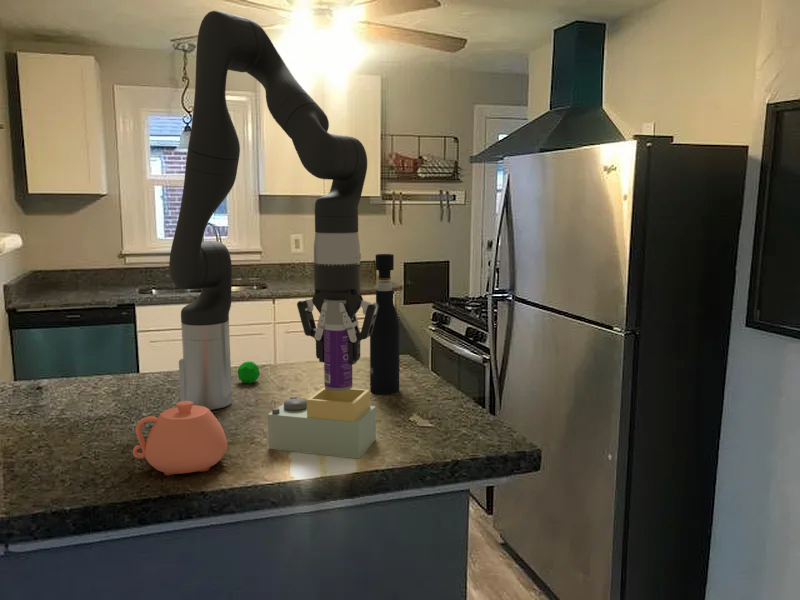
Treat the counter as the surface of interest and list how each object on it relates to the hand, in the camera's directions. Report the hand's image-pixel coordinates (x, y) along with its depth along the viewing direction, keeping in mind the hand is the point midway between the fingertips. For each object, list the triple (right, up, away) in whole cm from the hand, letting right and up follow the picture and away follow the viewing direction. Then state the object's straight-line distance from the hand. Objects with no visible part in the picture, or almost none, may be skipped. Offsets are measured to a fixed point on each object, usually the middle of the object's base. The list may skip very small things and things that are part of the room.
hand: (338, 361), depth 108 cm
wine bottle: (+7, -10, +35) cm, 37 cm away
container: (0, -4, +1) cm, 5 cm away
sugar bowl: (-24, -16, -6) cm, 30 cm away
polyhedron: (-24, -9, +41) cm, 49 cm away
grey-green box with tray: (-3, -14, +3) cm, 15 cm away
